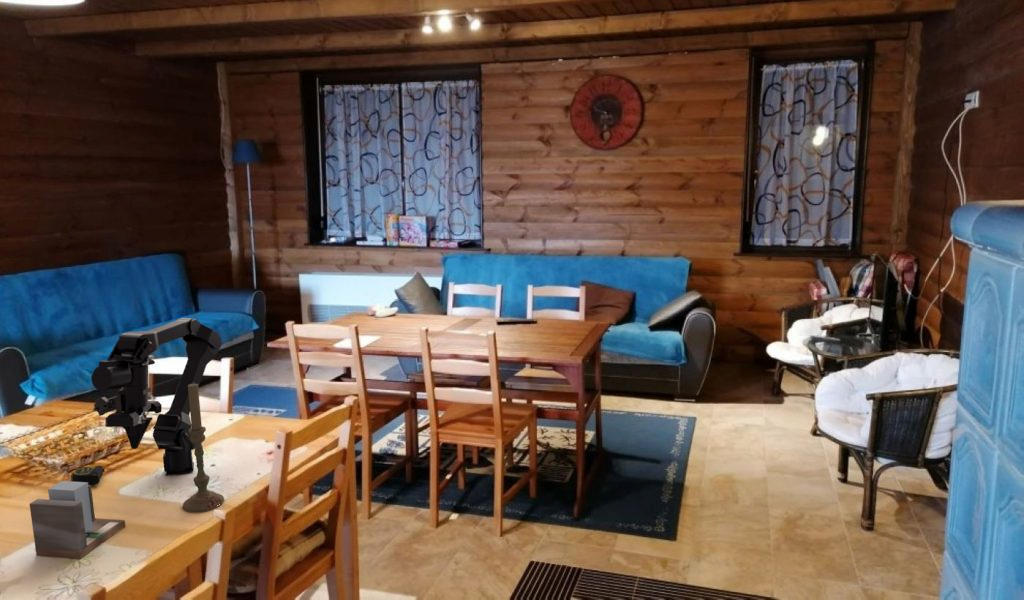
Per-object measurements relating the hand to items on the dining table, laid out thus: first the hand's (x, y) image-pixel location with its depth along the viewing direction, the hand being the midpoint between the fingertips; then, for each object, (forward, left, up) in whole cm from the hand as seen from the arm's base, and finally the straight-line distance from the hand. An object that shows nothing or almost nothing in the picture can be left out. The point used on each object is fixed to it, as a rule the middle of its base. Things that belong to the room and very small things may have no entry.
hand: (134, 448), depth 178 cm
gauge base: (+9, +21, -12) cm, 26 cm away
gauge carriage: (+9, +22, -10) cm, 26 cm away
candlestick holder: (-15, +12, -12) cm, 23 cm away
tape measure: (+12, -12, -12) cm, 21 cm away
